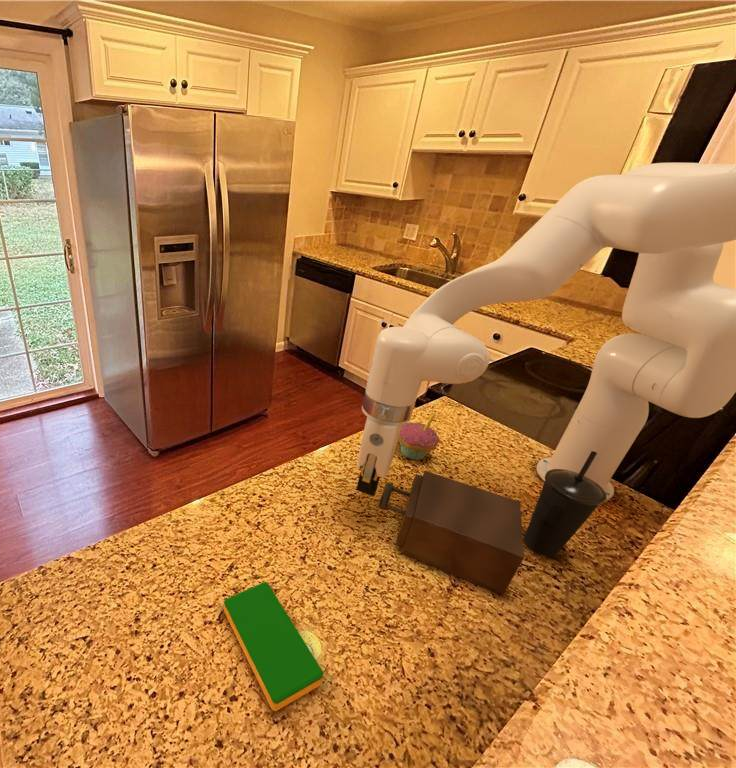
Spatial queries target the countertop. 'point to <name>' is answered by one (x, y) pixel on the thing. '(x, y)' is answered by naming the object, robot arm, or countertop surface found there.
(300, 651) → the dish sponge
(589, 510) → the drinking cup
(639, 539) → the countertop surface
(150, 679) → the countertop surface
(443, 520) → the cabinet
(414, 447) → the cupcake
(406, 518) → the drawer
